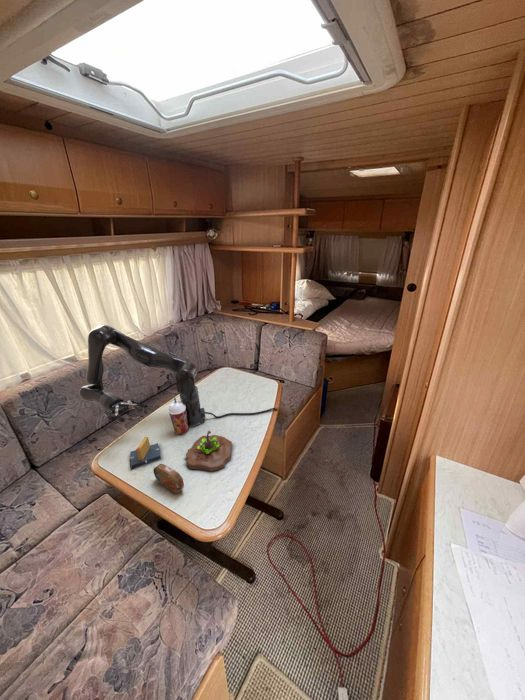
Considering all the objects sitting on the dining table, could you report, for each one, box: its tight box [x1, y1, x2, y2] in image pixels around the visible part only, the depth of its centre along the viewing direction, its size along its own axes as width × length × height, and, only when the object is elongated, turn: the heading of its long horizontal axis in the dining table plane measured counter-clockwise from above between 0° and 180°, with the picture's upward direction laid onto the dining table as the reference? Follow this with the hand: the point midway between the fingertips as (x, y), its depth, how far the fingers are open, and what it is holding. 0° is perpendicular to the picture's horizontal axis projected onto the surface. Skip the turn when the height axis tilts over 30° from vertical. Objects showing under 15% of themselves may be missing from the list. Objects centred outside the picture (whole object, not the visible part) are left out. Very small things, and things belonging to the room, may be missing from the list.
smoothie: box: [167, 397, 189, 435], centre depth 135 cm, size 8×8×20 cm
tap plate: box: [129, 442, 162, 470], centre depth 123 cm, size 12×12×2 cm
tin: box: [153, 463, 185, 494], centre depth 108 cm, size 15×3×8 cm, turn 58°
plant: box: [185, 430, 233, 472], centre depth 122 cm, size 20×20×11 cm
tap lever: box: [135, 436, 151, 460], centre depth 121 cm, size 8×2×6 cm, turn 176°
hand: (132, 415), depth 123 cm, fingers open, 8 cm apart
